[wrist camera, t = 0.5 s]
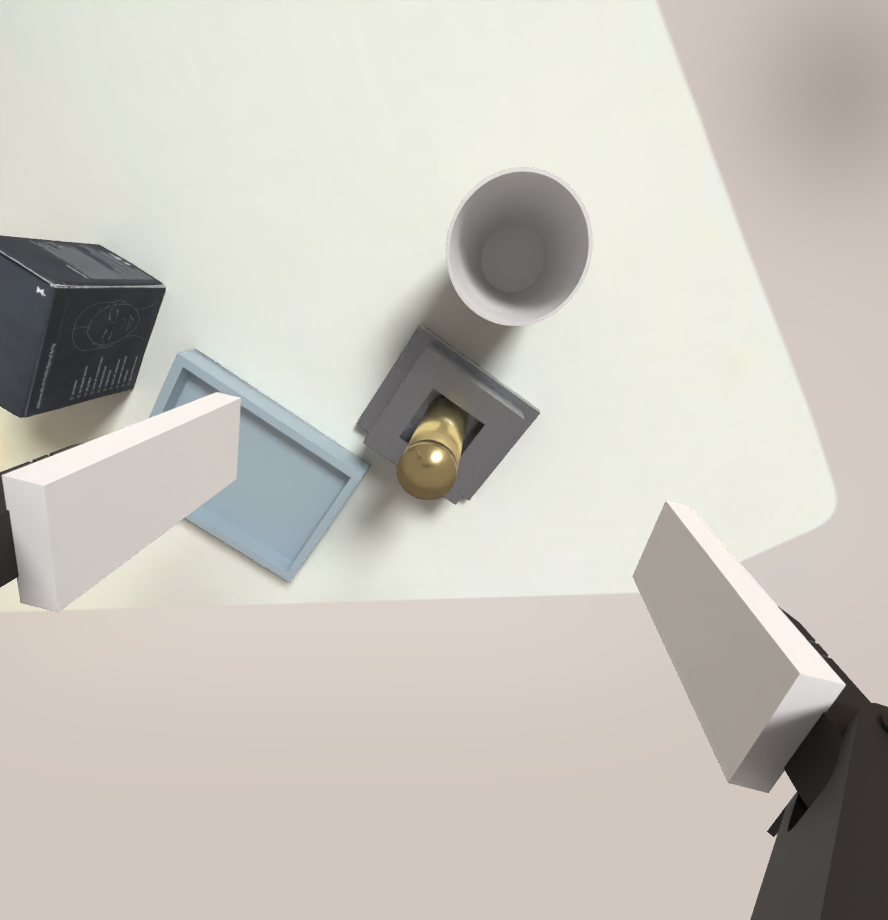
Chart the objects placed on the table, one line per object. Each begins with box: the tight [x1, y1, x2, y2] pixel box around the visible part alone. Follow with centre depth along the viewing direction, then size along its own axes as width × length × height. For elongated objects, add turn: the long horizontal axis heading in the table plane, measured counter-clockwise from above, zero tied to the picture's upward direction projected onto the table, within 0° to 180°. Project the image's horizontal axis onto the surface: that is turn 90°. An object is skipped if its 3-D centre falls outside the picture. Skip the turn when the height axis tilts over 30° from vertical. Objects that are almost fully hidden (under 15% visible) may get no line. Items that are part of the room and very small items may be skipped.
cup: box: [446, 167, 593, 326], centre depth 31 cm, size 8×8×10 cm
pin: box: [397, 398, 467, 500], centre depth 34 cm, size 4×4×12 cm
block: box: [357, 325, 540, 505], centre depth 38 cm, size 12×10×4 cm
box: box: [0, 236, 166, 418], centre depth 36 cm, size 11×7×10 cm, turn 149°
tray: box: [149, 349, 370, 582], centre depth 43 cm, size 18×14×2 cm
